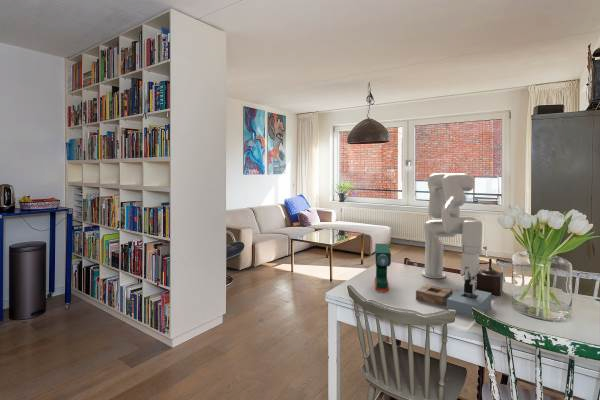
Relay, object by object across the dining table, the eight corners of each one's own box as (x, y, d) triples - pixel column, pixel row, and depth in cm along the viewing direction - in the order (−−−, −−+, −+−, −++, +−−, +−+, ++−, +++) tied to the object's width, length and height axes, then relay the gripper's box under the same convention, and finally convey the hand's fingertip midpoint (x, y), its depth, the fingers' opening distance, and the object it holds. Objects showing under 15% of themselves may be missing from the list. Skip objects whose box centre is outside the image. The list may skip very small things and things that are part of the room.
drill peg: (466, 299, 150) (467, 277, 149) (475, 301, 147) (476, 279, 146) (463, 302, 147) (464, 279, 146) (472, 304, 144) (473, 281, 144)
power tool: (391, 301, 157) (392, 258, 156) (375, 300, 159) (376, 257, 157) (388, 279, 188) (388, 243, 187) (374, 278, 190) (375, 243, 188)
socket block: (426, 294, 166) (426, 284, 165) (452, 300, 158) (452, 289, 157) (415, 301, 157) (416, 290, 157) (442, 308, 149) (442, 296, 148)
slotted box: (462, 299, 159) (462, 286, 158) (490, 306, 151) (491, 292, 150) (446, 312, 144) (446, 298, 143) (477, 321, 136) (478, 306, 135)
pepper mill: (503, 290, 170) (505, 254, 169) (499, 297, 162) (501, 259, 160) (469, 284, 180) (470, 250, 178) (463, 290, 171) (465, 254, 170)
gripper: (468, 244, 154) (466, 284, 155) (455, 251, 142) (453, 294, 143) (486, 247, 149) (484, 288, 150) (475, 254, 136) (473, 299, 138)
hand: (469, 291), depth 147 cm, fingers closed on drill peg, 3 cm apart
